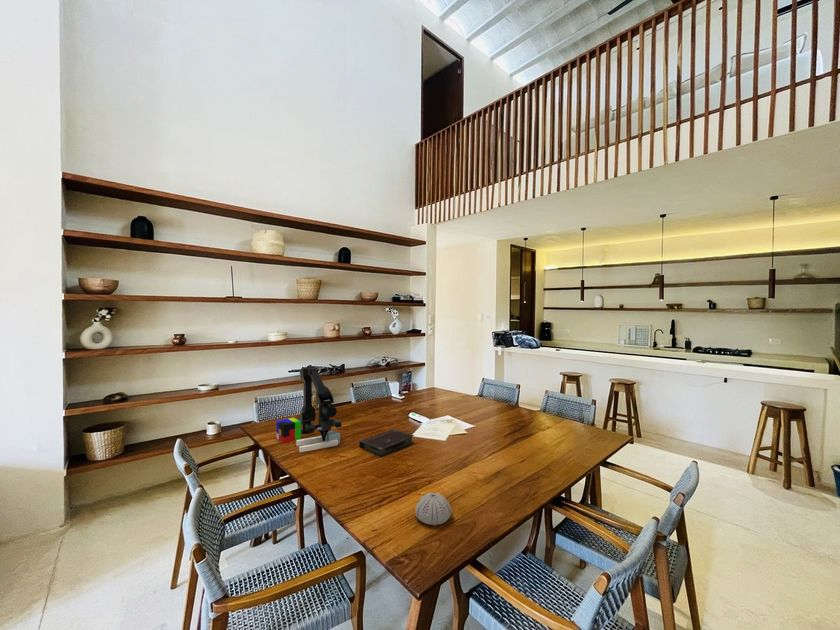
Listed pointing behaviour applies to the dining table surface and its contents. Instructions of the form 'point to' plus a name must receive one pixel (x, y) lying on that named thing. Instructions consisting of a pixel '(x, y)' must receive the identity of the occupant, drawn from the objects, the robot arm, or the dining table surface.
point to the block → (333, 436)
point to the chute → (316, 445)
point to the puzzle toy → (288, 430)
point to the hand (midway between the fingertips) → (323, 440)
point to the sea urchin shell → (433, 509)
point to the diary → (386, 442)
